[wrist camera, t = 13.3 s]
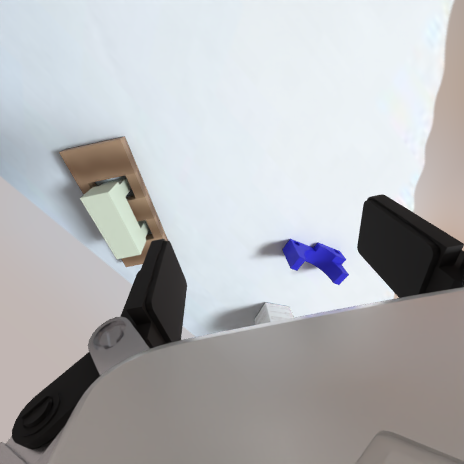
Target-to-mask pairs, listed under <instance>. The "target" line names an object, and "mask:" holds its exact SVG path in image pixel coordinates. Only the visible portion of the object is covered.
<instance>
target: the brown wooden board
mask: <svg viewBox="0 0 464 464" xmlns="http://www.w3.org/2000/svg"><path fill="white" fill-rule="evenodd" d="M59 153H60V155H61V157H62V158H63V160H64V162H65V164H66V165H67V167H68V169H69V170H70V172H71V174H72V176H73V177H74V179H75V181H76V182H77V184H78V186H79V188H80V189H81V191H82V193H83V194H85V193H86V192H88V191H89V190H90V189H91V188H92V187H96V186H97V185H96V183H95V182H96V181H101V180H106V179H110V178H115V177H120V176H125V175H126V178H127V180H128V182H129V184H130V186H131V189H132V191H133V193H134V195H132V196H128V197H126V199H127V201H128V203H129V205H130V207H131V210H132V212H133V214H134V216H135V218H136V220H137V222H138V221H143V220H146V222H147V224H148V226H149V228H150V231H151V233H152V234H148V235H147V236H146V243H145V245H144V248H143V250H142V253H141V255H136V256H131V257H126V258H121V259H122V261H123V263H124V264H125V266H126V267H129V266H134V265H139V264H143V262H144V260H145V257H146V255H147V252H148V249H149V247H150V244H151V242H152V241H154V240H159V239H165V240H166V241H168V239H167V237H166V235H165V232H164V230H163V227H162V225H161V222H160V220H159V218H158V215H157V213H156V210H155V208H154V206H153V203H152V201H151V198H150V196H149V194H148V191H147V189H146V186H145V184H144V182H143V179H142V177H141V174H140V172H139V169H138V167H137V165H136V162H135V160H134V157H133V155H132V153H131V150H130V148H129V145H128V143H127V141H126V138H125V137H120V138H115V139H111V140H106V141H102V142H97V143H92V144H88V145H83V146H78V147H74V148H69V149H65V150H63V151H61V152H59Z"/></svg>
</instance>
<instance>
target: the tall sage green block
mask: <svg viewBox="0 0 464 464" xmlns="http://www.w3.org/2000/svg"><path fill="white" fill-rule="evenodd" d="M130 190H131V188H130V186H129V184H128V182H127V180H126V178H125V179H120V180H115V181H111V182H106V183H102V184H101V185H100V186H96V187H92V188H91V189H90V190H89V191H88V192H86V193H85V194H84V195H83V196H82V197H81V198H80V199H81V201H82V203H83V204H84V206H85V208H86V209H87V211H88V213H89V214H90V216H91V218H92V219H93V221H94V223H95V224H96V226H97V228H98V229H99V231H100V232H101V234H102V236H103V237H104V239H105V241H106V242H107V244H108V246H109V247H110V249H111V251H112V252H113V254H114V256H115V257H116V259H121V258H126V257H131V256H136V255H141V253H142V250H143V248H144V245H145V243H146V236H147V233H148V231H149V228H148V225H147V223H146V221H145V220H143V221H138V222H137V220H136V218H135V216H134V214H133V212H132V210H131V207H130V205H129V203H128V201H127V199H126V195H127V194H128V193H129V192H130Z"/></svg>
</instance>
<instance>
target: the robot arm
mask: <svg viewBox="0 0 464 464" xmlns="http://www.w3.org/2000/svg"><path fill="white" fill-rule="evenodd" d="M463 246H464V244H463V243H461V242H460V241H458V240H457V239H455V238H453V237H451V236H450V235H448V234H447V233H445V232H444V231H442V230H440V229H439V228H437V227H436V226H434V225H432V224H431V223H429V222H427V221H426V220H424V219H422V218H421V217H419V216H418V215H416V214H414V213H413V212H411V211H410V210H408V209H406V208H405V207H403V206H402V205H400V204H398V203H397V202H395V201H394V200H392V199H390V198H389V197H387V196H385V195H377V196H372V197H369V198H368V199H367V201H365V202H364V205H363V212H362V219H361V226H360V232H359V239H358V246H357V248H358V252H359V253H360V255H361V256H362V257H363V258H364V259H365V260H366V261H367V262H368V264H369V265H370V266H371V267H372V268H373V269H374V270H375V271H376V272H377V274H378V275H379V276H380V277H381V278H382V279H383V280H384V281H385V282H386V284H387V285H388V286H389V287H390V288H391V289H392V290H393V291H394V292H395V294H397V296H398V297H399V298H397V299H392V300H386V301H381V302H375V303H370V304H364V305H359V306H353V307H348V308H343V309H337V310H332V311H327V312H321V313H316V314H311V315H305V316H300V317H295V318H289V319H284V320H279V321H274V322H269V323H263V324H258V325H253V326H248V327H243V328H238V329H232V330H227V331H222V332H217V333H212V334H208V335H203V336H198V337H194V338H189V339H184V340H181V333H182V325H183V316H184V307H185V298H186V290H187V283H186V280H185V277H184V275H183V272H182V270H181V267H180V265H179V262H178V260H177V258H176V255H175V253H174V250H173V248H172V245H171V243H170V241H166V240H165V239H159V240H154V241H152V242H151V244H150V247H149V249H148V252H147V255H146V257H145V260H144V262H143V265H142V268H141V270H140V271H139V272H138V273H137V275H136V278H135V281H134V283H133V286H132V288H131V291H130V294H129V296H128V299H127V301H126V304H125V306H124V309H123V312H122V314H121V317H115V318H113V319H110V320H108V321H106V322H105V323H103V324H102V325H101V326H99V327H98V328H97V329H96V330H95V332H94V333H93V334H92V336H91V338H90V340H89V344H88V349H89V353H87V354H86V355H85V356H84V357H83V358H81V359H80V360H79V361H78V362H76V363H75V364H74V365H73V366H72V367H70V368H69V369H68V370H67V371H66V372H65V373H63V374H62V375H61V376H59V377H58V378H57V379H56V380H55V381H53V382H52V383H51V384H50V385H49V386H47V387H46V388H45V389H44V390H42V391H41V392H40V393H39V394H38V395H36V396H35V397H34V398H33V399H32V400H31V401H30V402H29V403H28V404H27V405H26V406H25V408H24V409H23V410H22V411H21V413H20V414H19V416H18V418H17V419H16V421H15V424H14V427H13V430H12V437H11V438H10V439H9V440H8V442H7V443H6V444H5V443H3V442H1V443H0V464H464V251H462V248H463Z"/></svg>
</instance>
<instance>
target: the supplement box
mask: <svg viewBox="0 0 464 464" xmlns="http://www.w3.org/2000/svg"><path fill="white" fill-rule="evenodd" d="M289 318H294V316H293V313H292V311H291V308H290V307H288V306H282V305H277V304H271V303H265V304H264V305H263V307H262V308H261V310H260V312H259V313H258V315H257V316H256V318H255V320H254V322H255V325H258V324H263V323H269V322H274V321H279V320H284V319H289Z"/></svg>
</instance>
